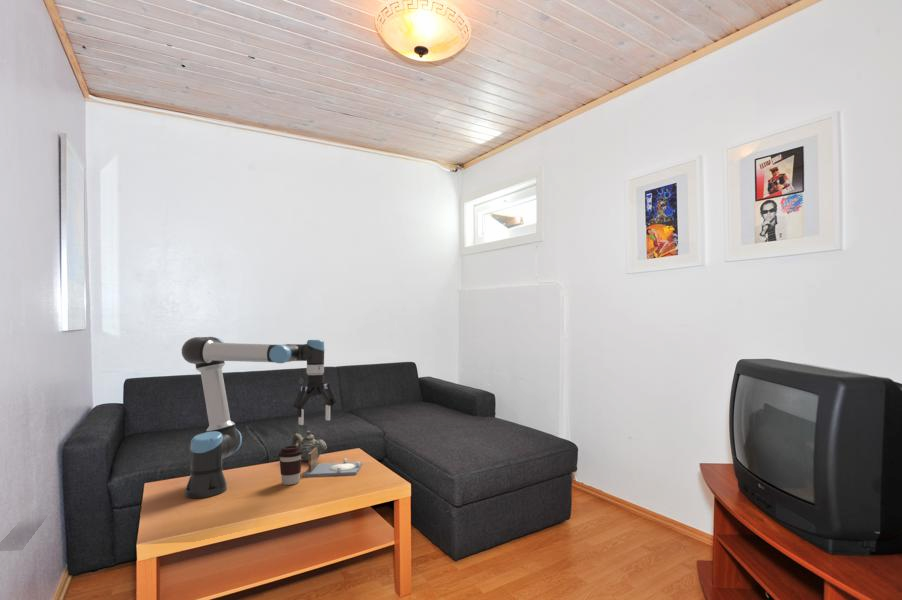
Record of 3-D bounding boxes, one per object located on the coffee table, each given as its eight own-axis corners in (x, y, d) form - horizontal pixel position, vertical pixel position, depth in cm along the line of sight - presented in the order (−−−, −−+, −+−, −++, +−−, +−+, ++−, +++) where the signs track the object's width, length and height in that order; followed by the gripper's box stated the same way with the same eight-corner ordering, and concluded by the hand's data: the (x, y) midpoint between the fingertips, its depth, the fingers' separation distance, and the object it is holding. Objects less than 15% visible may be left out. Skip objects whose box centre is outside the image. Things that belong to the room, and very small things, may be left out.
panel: (304, 471, 210) (304, 454, 211) (311, 464, 222) (311, 447, 223) (311, 471, 210) (310, 453, 211) (317, 464, 222) (317, 447, 223)
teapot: (332, 459, 237) (332, 429, 238) (318, 465, 226) (318, 433, 227) (299, 456, 245) (299, 427, 246) (284, 461, 234) (284, 431, 236)
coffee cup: (273, 485, 197) (273, 449, 198) (290, 478, 206) (289, 444, 208) (291, 487, 193) (291, 450, 195) (307, 480, 202) (307, 445, 204)
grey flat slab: (302, 477, 207) (302, 469, 208) (312, 466, 224) (312, 459, 225) (356, 474, 208) (356, 467, 209) (362, 464, 225) (362, 457, 226)
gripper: (294, 376, 195) (293, 427, 193) (343, 372, 214) (343, 419, 212) (285, 375, 200) (284, 425, 198) (334, 371, 219) (333, 417, 217)
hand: (314, 422), depth 205 cm, fingers open, 13 cm apart
